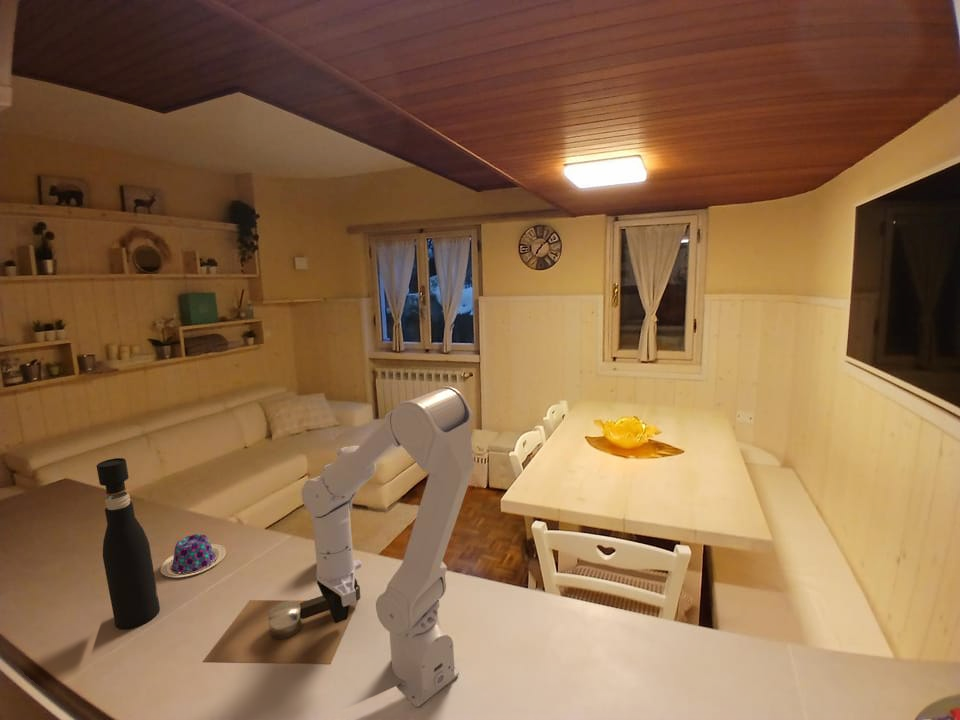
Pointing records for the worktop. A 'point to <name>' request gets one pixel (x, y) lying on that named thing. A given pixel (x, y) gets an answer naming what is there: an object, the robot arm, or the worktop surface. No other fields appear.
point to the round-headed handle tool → (296, 615)
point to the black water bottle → (126, 553)
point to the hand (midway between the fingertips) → (340, 618)
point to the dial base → (256, 645)
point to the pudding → (192, 555)
